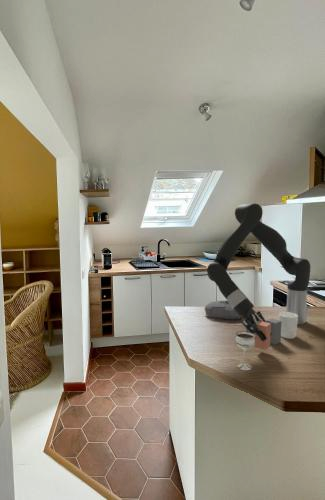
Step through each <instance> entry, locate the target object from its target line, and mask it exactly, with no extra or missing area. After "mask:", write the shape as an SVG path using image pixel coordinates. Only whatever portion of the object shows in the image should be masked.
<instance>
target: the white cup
mask: <svg viewBox="0 0 325 500" xmlns="http://www.w3.org/2000/svg"><path fill="white" fill-rule="evenodd" d="M278 320H279V321H281V338H284V339H288V340H290V339H296V335H297V328H298V324H297V321H298V315H297V314H294V313H290V312H286V311H282V312H281V311H280V312H279V313H278Z"/></svg>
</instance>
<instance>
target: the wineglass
mask: <svg viewBox="0 0 325 500" xmlns="http://www.w3.org/2000/svg"><path fill="white" fill-rule="evenodd" d="M235 335H236V336H235V343H236V345H237V346H238V348H240V349H241V350H243V363H238V364H237V368H238V367H239V368H240V370H242V371H251V369H252V366H251V365H250V364H248V363H246V358H247V357H246V355H247V351H248V350H250V349H252V348H253V347H255V335H254V334H253V333H250V332H246V330H242V331H237V332H235ZM239 368H238V369H239Z"/></svg>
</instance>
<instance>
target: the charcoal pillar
mask: <svg viewBox="0 0 325 500" xmlns="http://www.w3.org/2000/svg"><path fill="white" fill-rule="evenodd" d="M265 321H266V322H267V323H271V334H272V335H271V336H270V345H273V346H275V345H278V344H280V343H281V340H282V337H281V321H279V319H276V318H269V319H265Z"/></svg>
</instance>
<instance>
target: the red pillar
mask: <svg viewBox="0 0 325 500" xmlns="http://www.w3.org/2000/svg"><path fill="white" fill-rule="evenodd" d="M255 327H256V326H255ZM258 327H259V328H260V331H262V332H263V333H264V335H265V336H266V337H267V339H266V340H265V341H262V340H261V339H260V338H259V336H258V335H257V334H255V338H254V339H255V344H254V348H258V349H260V350H264V351H266V350H268V349H269V348H270V347H271V343H270V333H271V323H267V322H260V321H259V322H258Z"/></svg>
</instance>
